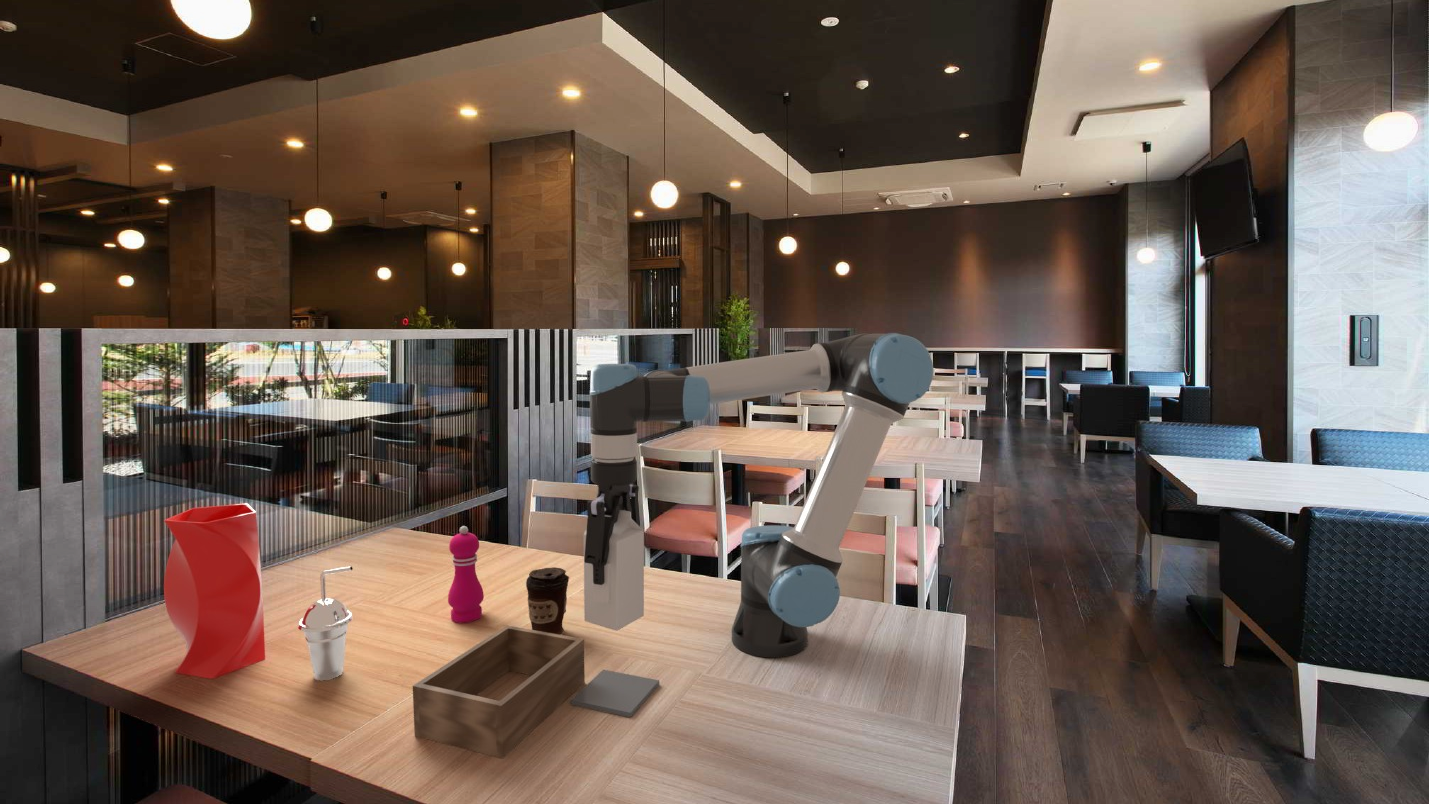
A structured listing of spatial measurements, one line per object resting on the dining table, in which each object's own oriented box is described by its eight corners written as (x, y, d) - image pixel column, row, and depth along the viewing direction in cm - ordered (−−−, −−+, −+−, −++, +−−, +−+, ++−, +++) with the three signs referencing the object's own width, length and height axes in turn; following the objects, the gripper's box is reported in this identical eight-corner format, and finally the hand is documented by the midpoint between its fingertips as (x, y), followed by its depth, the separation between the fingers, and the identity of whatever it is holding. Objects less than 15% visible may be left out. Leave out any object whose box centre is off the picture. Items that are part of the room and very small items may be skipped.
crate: (584, 682, 122) (583, 639, 121) (502, 758, 100) (501, 705, 100) (508, 667, 127) (506, 625, 126) (414, 735, 106) (412, 685, 105)
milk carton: (617, 632, 112) (616, 516, 110) (584, 622, 116) (583, 510, 114) (644, 616, 118) (644, 507, 116) (611, 607, 122) (611, 501, 120)
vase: (159, 668, 126) (147, 517, 123) (239, 635, 139) (229, 499, 136) (215, 684, 121) (203, 527, 118) (292, 649, 134) (283, 507, 131)
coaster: (659, 684, 121) (659, 680, 121) (630, 717, 111) (630, 712, 111) (603, 673, 125) (603, 669, 125) (570, 704, 115) (570, 699, 115)
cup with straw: (336, 659, 130) (330, 555, 128) (367, 670, 126) (362, 563, 124) (290, 679, 122) (283, 569, 120) (322, 692, 118) (316, 578, 116)
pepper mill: (441, 620, 147) (437, 528, 145) (465, 608, 154) (462, 520, 152) (468, 626, 145) (465, 532, 142) (491, 613, 151) (488, 523, 149)
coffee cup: (558, 645, 136) (557, 581, 135) (518, 641, 138) (517, 578, 136) (575, 626, 145) (574, 566, 143) (538, 623, 146) (537, 563, 145)
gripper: (622, 446, 125) (623, 569, 127) (559, 468, 105) (561, 612, 108) (660, 449, 122) (660, 575, 125) (603, 472, 103) (603, 620, 105)
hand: (614, 592), depth 116 cm, fingers closed on milk carton, 8 cm apart
